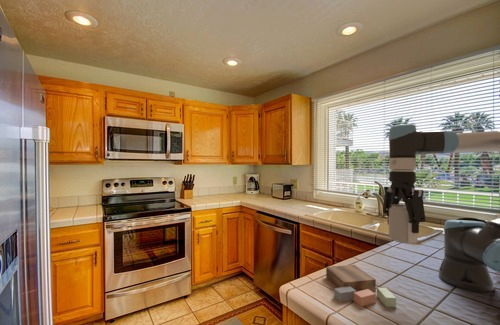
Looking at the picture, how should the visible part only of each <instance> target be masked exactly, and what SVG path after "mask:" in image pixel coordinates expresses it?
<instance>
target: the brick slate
mask: <svg viewBox="0 0 500 325" xmlns="http://www.w3.org/2000/svg"><path fill="white" fill-rule="evenodd" d="M354 292H356V290H354V289H353V288H352V287H350V286H347V287H340V288H337V287H335V288H334V292H333V293H334V298H335V299H336V300H337V301H338V302H339V303H343V302H347V301H354Z"/></svg>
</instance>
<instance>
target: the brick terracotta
mask: <svg viewBox="0 0 500 325" xmlns="http://www.w3.org/2000/svg"><path fill="white" fill-rule="evenodd" d="M376 298H377V293H376V292H375V291H370V290H369V289H366V290H362V291H358V292H354V300H353V302H354V303H356V304H357V305H359V306H360V307H364V306H368V305H372V304H376V303H377V302H376V301H377V299H376Z"/></svg>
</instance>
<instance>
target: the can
mask: <svg viewBox="0 0 500 325" xmlns="http://www.w3.org/2000/svg"><path fill="white" fill-rule="evenodd" d="M414 219H415V218H414ZM409 221H410V218H409V215H408V211H407V209H406V205H405V203H404V204H403V203H399V204H392V207H391V208H390V209H389V225H388V236H389V238H390V239H391V240H392V241H393V242H396V243H401V244H410V243H408V222H409Z"/></svg>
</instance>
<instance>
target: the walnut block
mask: <svg viewBox="0 0 500 325" xmlns="http://www.w3.org/2000/svg"><path fill="white" fill-rule="evenodd" d="M325 270H326V273H325V275H326V276H325V277H326V279H328V281H330V283H332V284H333V286H335V288H340V287H347V286H350V287H352V288H353V289H354V290H356V292H358V291H362V290H366V289H369V290H370V291H372V292H377V286H376V285H377V284H376V282H377V280H376V279H375V277H373V276H372V275H370V274H368V273H367V272H366V271H364V270H362V269H361V268H360V267H358V266H356V265H355V264H349V265H348V264H347V265H335V266H334V265H333V266H326V267H325Z"/></svg>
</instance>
